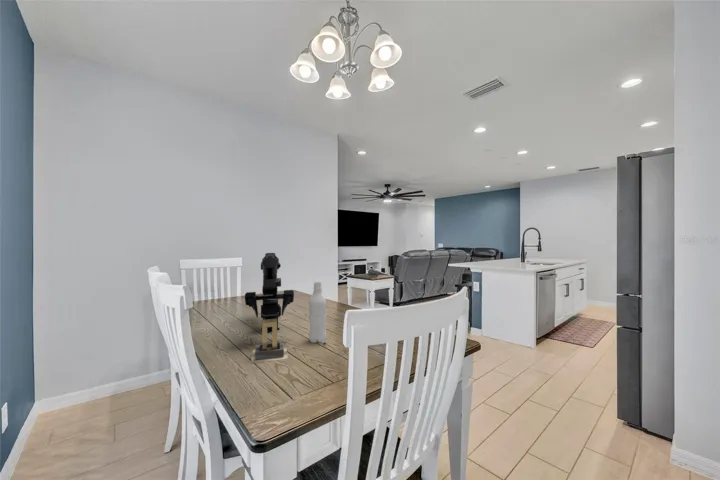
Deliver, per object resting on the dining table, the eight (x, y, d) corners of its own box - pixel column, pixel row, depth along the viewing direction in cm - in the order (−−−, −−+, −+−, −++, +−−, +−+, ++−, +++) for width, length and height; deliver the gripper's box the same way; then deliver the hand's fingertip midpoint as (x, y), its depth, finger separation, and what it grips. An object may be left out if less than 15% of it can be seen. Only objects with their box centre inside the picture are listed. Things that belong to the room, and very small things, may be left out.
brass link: (262, 352, 104) (262, 319, 104) (276, 351, 105) (276, 318, 105) (262, 357, 100) (262, 323, 100) (277, 355, 102) (276, 321, 101)
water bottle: (323, 347, 113) (323, 284, 113) (306, 345, 114) (306, 283, 114) (328, 340, 120) (328, 281, 120) (312, 339, 121) (312, 281, 121)
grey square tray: (253, 353, 107) (253, 343, 107) (286, 349, 110) (286, 339, 110) (250, 367, 95) (250, 355, 95) (287, 362, 99) (287, 351, 99)
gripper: (245, 272, 112) (242, 306, 102) (293, 270, 118) (295, 302, 107) (246, 288, 120) (244, 322, 109) (292, 286, 125) (294, 318, 115)
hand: (269, 316), depth 110 cm, fingers open, 9 cm apart
